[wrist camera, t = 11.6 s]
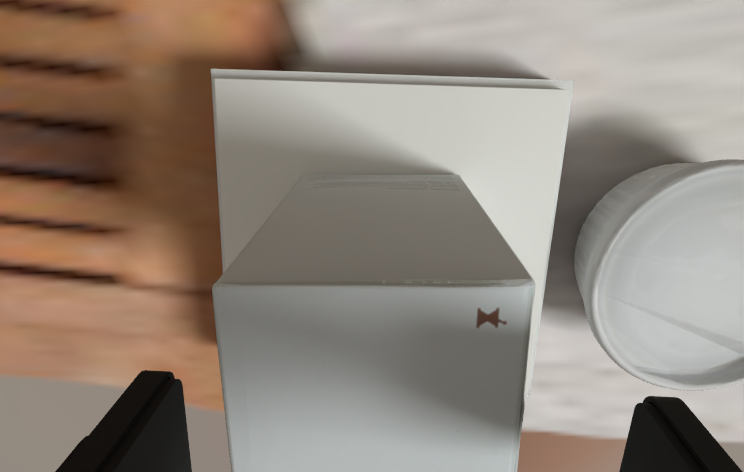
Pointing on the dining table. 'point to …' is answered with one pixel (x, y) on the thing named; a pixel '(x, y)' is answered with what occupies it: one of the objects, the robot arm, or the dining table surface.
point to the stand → (394, 147)
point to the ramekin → (669, 274)
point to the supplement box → (374, 332)
